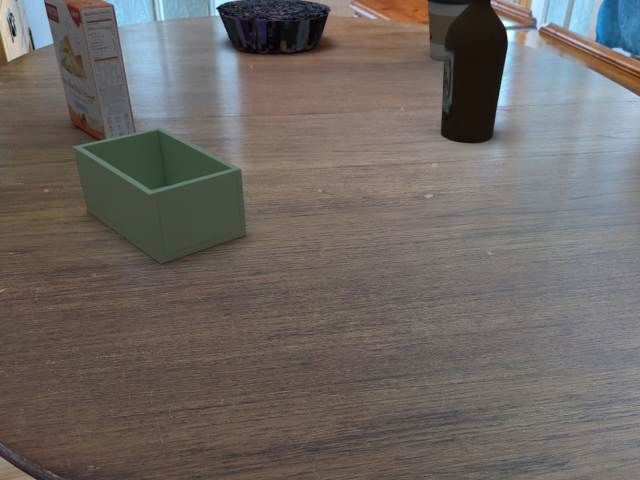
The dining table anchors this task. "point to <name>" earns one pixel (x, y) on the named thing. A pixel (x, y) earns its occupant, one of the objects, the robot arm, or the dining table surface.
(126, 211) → the bin
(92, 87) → the cracker box
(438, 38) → the coffee cup
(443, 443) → the dining table surface
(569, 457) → the dining table surface
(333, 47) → the dining table surface
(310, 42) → the decorative bowl
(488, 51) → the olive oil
